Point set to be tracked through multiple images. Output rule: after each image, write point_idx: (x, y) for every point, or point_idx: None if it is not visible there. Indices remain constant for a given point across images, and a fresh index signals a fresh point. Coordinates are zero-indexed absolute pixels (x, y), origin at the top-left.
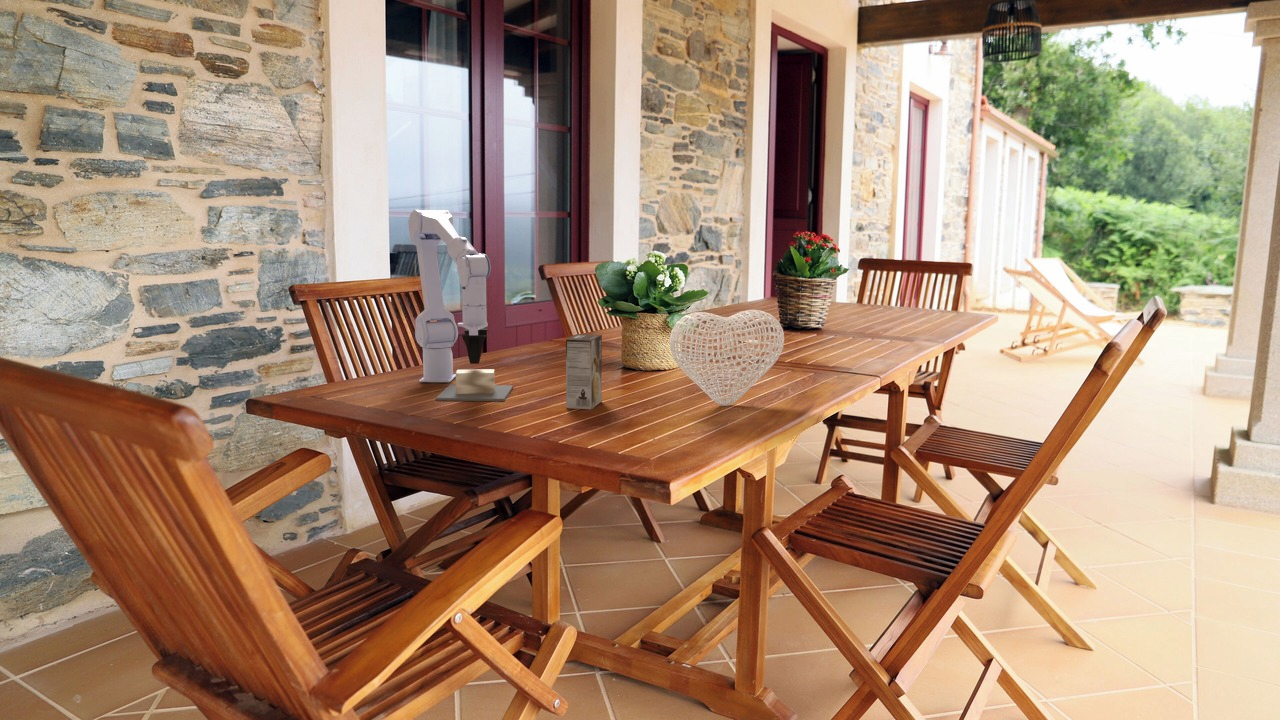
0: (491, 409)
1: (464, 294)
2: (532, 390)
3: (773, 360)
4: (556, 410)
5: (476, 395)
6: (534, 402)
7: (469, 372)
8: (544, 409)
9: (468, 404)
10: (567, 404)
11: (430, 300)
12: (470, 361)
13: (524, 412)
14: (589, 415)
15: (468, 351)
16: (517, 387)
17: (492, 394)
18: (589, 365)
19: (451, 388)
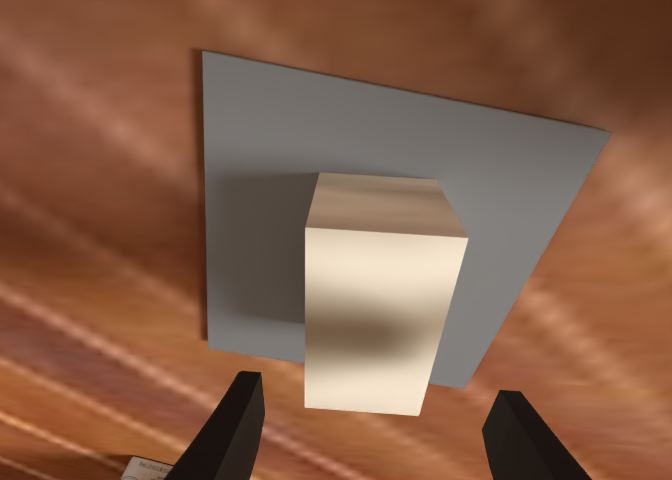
0: (63, 297)
1: None
2: (396, 420)
3: None
4: (101, 437)
5: (271, 262)
6: (202, 408)
7: (333, 308)
8: (107, 418)
9: (136, 221)
10: (126, 468)
11: None
12: (231, 388)
13: (50, 376)
14: (64, 476)
15: (169, 476)
16: (466, 391)
17: (290, 319)
18: None
19: (481, 144)
